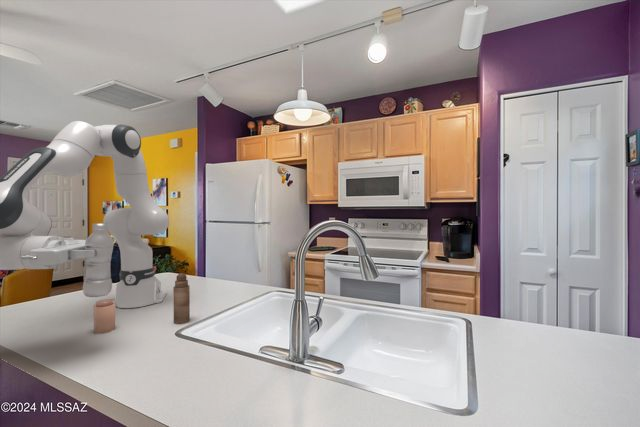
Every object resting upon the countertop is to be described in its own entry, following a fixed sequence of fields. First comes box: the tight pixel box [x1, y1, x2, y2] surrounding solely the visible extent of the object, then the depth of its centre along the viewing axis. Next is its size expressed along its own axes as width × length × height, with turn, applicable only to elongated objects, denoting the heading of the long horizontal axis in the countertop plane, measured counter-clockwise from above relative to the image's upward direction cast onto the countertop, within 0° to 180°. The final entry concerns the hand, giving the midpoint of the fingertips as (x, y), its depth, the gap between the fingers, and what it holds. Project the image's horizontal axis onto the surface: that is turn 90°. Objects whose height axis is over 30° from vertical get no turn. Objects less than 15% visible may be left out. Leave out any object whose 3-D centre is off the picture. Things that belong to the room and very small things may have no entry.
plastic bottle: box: [82, 222, 115, 298], centre depth 82 cm, size 6×7×20 cm
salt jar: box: [93, 298, 116, 334], centre depth 95 cm, size 6×6×9 cm
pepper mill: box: [172, 272, 191, 325], centre depth 103 cm, size 5×5×17 cm
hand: (103, 251), depth 82 cm, fingers closed on plastic bottle, 6 cm apart
